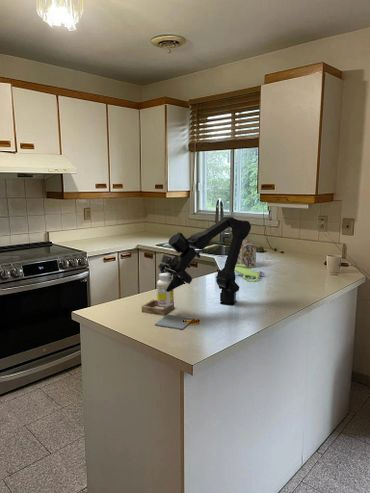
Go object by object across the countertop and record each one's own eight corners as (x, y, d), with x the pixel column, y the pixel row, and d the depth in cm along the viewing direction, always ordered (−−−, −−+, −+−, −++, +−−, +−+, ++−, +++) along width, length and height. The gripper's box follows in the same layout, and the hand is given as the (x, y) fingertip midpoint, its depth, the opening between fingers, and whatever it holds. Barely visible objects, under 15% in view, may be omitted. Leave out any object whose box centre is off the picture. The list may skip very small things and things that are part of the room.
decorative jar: (231, 265, 252) (231, 239, 249) (245, 264, 257) (246, 238, 254) (241, 269, 241) (241, 241, 238) (256, 267, 246) (257, 240, 243)
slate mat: (194, 319, 154) (194, 318, 154) (182, 329, 143) (182, 328, 143) (167, 315, 158) (167, 314, 158) (154, 325, 147) (154, 324, 147)
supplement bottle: (171, 301, 159) (170, 271, 157) (175, 305, 153) (175, 275, 151) (155, 302, 157) (155, 273, 155) (160, 307, 151) (159, 276, 149)
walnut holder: (174, 307, 168) (174, 302, 168) (163, 315, 159) (163, 309, 158) (153, 304, 172) (152, 299, 172) (141, 312, 163) (141, 306, 162)
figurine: (236, 270, 241) (237, 261, 240) (271, 278, 221) (272, 268, 220) (217, 275, 229) (217, 266, 228) (251, 283, 209) (252, 273, 208)
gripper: (161, 244, 161) (139, 273, 157) (185, 251, 146) (161, 283, 142) (177, 260, 167) (156, 288, 163) (201, 268, 151) (179, 299, 147)
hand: (162, 289), depth 153 cm, fingers closed on supplement bottle, 7 cm apart
